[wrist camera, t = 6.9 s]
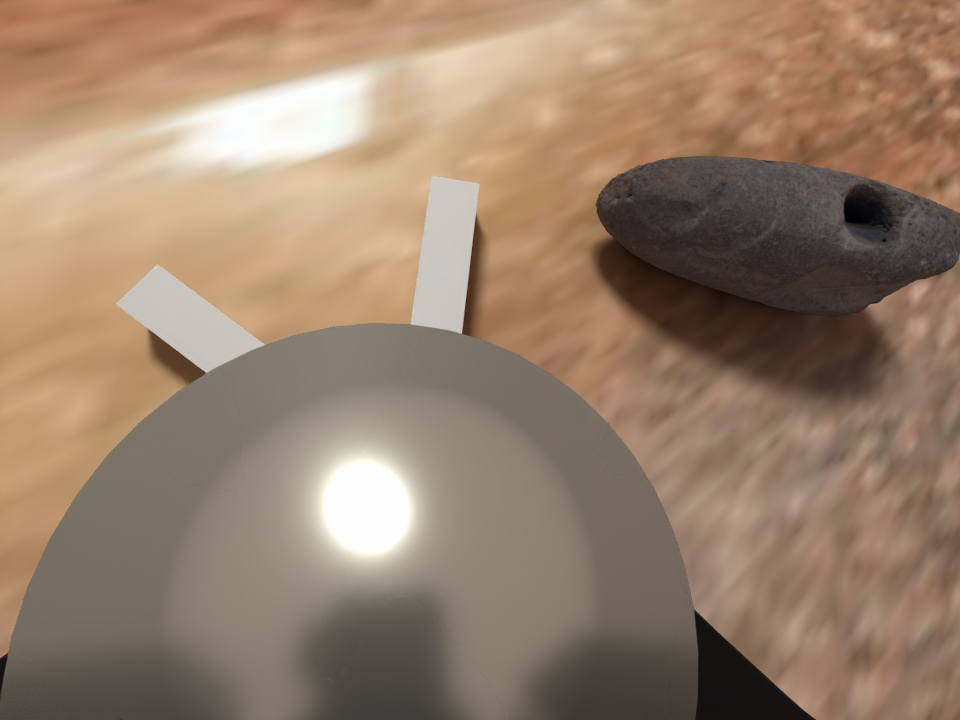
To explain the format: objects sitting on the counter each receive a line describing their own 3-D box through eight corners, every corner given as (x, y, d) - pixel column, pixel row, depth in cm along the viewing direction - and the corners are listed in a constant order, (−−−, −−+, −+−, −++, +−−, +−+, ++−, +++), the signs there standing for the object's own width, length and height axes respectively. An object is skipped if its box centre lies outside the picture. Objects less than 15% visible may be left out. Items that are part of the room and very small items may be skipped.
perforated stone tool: (569, 267, 24) (626, 190, 17) (589, 179, 25) (649, 76, 19) (840, 348, 25) (995, 303, 18) (846, 259, 26) (992, 187, 20)
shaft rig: (652, 337, 24) (694, 313, 20) (437, 668, 19) (441, 715, 16) (349, 118, 24) (336, 56, 21) (76, 390, 20) (-1, 373, 16)
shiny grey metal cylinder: (497, 516, 17) (841, 724, 3) (393, 593, 16) (219, 1382, 2) (432, 415, 17) (474, 208, 4) (327, 483, 16) (-156, 553, 3)
